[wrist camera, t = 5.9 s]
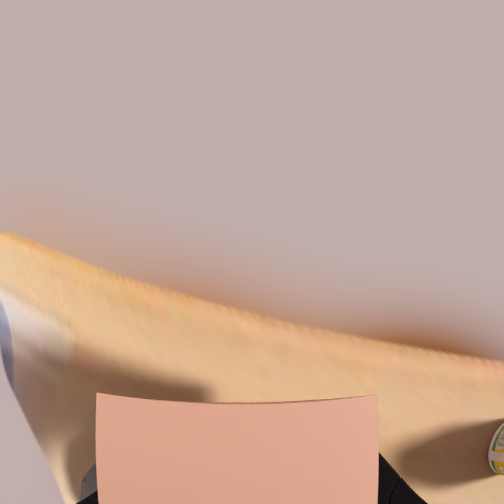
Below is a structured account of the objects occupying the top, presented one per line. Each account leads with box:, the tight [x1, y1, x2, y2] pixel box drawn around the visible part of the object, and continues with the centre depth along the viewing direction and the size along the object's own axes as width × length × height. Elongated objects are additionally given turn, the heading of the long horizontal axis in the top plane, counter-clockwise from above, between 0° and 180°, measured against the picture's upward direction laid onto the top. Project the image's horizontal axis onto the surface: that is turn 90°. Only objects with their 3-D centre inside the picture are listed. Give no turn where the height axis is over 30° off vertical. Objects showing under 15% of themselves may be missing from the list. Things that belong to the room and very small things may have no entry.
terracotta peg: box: [96, 393, 379, 504], centre depth 9 cm, size 4×4×13 cm
